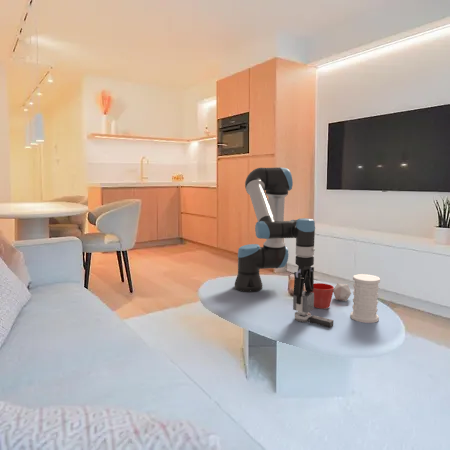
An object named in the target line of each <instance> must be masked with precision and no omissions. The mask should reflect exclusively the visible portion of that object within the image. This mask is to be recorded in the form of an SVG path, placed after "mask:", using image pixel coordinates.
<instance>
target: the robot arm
mask: <svg viewBox="0 0 450 450" xmlns="http://www.w3.org/2000/svg"><path fill="white" fill-rule="evenodd" d="M293 183H294V182H293V175H292V172H291V170H290V169H288V168H286V167H281V166H280V167H257V168H255V169H253V170H252V171H250V173H249V174H248V175H247V177H246V178H245V182H244V187H245V191H246V193H247V195H249V197H250V201H251V204H252V207H253V210H254V213H255V216H256V219H257V222H255V225H254V226H255V227H254V229H255V230H254V231H255V236H256V238H257V239H262V240H265V241H264V242H263V244H262V245H263V246H260V244H257V243H249V244H245V245H241V246H240V247H239V248H238V250H237V276H236V278H235V281H234V289H235V290H236V291H239V292H247V293H254V292H255V293H256V292H259V291H261V290H263V286H264V285H263V282H262V279H261V275H260V270H261V269H262V270H263V269H264V270H265V269H281V268H285V267H286V265H287V264H288V261H289V248H288V247H287V246H286V243H285V242H284V241H283V240H284V239H295V255H296V256H295V265H296V266H298V268H297V271H294V272H293V276H294V277H293V278H294V280H293V281H294V282H293V283H294V284H293V292H292V293H293V295H294V296H296V310H295V312H297V311H300V312H303V296H302V293H303V291H307V292H313V290H312V289H314V284H315V283H314V281H315V279H314V272H315V267H314V263H315V257H314V255H315V250H316V249H315V234H316V221H315V220H314V219H313V218H306V217H304V218H298V219H291V220H284V217H285V204H286V203H285V201H286V199H285V198H286V197H287V196H288V194H289V191H291V190H293ZM304 289H305V290H304ZM293 295H292V296H293Z"/></svg>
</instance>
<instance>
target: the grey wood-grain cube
mask: <svg viewBox="0 0 450 450" xmlns="http://www.w3.org/2000/svg"><path fill="white" fill-rule="evenodd" d="M292 296H293V297H292V298H293V299H292V301H293V302H292V311H296V296H294V295H292ZM302 296H303V312H305V313H308V312H309V313H310V312H311V311H312V310H314V309H315V307H314V293H312V292H307V291H306V290H303V293H302Z"/></svg>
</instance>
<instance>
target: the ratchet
mask: <svg viewBox="0 0 450 450" xmlns="http://www.w3.org/2000/svg"><path fill="white" fill-rule="evenodd" d="M294 321H296V322H299V323H310V324H314V325H317V326H322V327H324V328H328V329H331V328H332V327H334V320H333V319H331V318H328V317H323V316H319V315H314V314H313V315H312V313H311V312H310V311H309V312H308V313H305V312H300V311H295V312H294Z"/></svg>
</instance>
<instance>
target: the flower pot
mask: <svg viewBox="0 0 450 450" xmlns="http://www.w3.org/2000/svg"><path fill="white" fill-rule="evenodd" d="M334 288H335V286H334V285H331V284H328V283H322V282H320V283H319V282H316V283H314V289H312V290H313V292H312V293H314V309H315V308H316V309H321V310H327V309H329V308H330V306H331V303H332V300H333V299H332V297H333V295H334V293H333V290H334Z"/></svg>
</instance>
